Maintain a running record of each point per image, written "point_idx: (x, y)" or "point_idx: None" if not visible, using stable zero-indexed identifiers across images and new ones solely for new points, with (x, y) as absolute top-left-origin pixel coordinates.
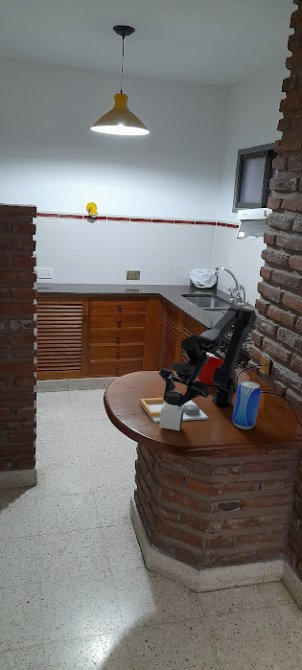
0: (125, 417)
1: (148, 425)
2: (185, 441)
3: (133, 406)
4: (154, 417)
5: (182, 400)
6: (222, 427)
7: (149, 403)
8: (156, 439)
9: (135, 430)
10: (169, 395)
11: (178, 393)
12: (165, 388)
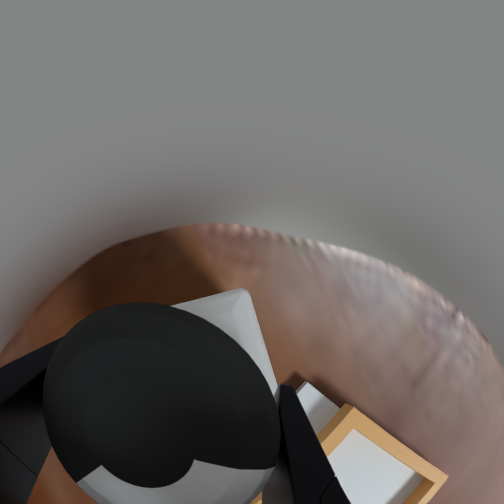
0: (427, 324)
1: (313, 333)
2: (96, 296)
3: (445, 435)
4: (325, 412)
5: (35, 351)
6: (44, 492)
7: (403, 500)
8: (212, 230)
9: (332, 245)
10: (177, 326)
11: (88, 442)
12: (338, 486)
